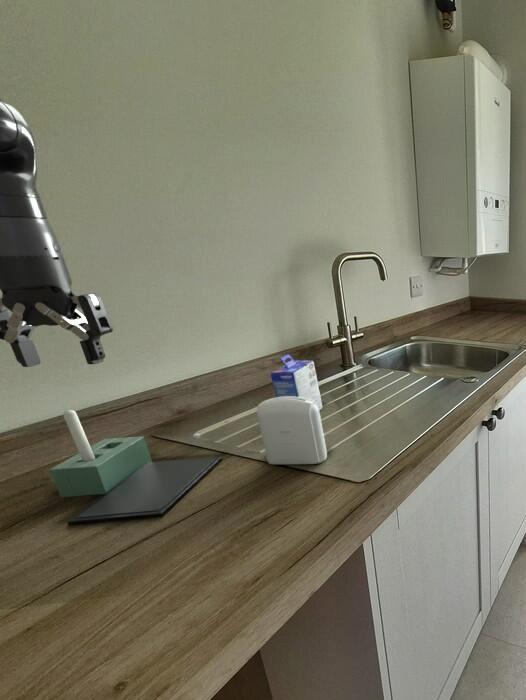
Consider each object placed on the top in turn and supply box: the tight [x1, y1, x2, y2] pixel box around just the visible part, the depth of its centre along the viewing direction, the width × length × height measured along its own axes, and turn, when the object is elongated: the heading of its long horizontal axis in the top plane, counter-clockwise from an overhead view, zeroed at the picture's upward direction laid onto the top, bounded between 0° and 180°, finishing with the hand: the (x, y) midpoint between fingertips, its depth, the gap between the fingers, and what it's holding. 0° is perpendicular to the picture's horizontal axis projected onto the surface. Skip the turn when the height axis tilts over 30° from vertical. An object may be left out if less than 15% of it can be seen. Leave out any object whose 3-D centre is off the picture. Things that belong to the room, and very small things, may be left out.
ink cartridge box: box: [270, 353, 323, 411], centre depth 92 cm, size 10×6×14 cm, turn 2°
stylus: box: [62, 409, 95, 462], centre depth 65 cm, size 1×1×13 cm
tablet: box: [66, 456, 223, 526], centre depth 66 cm, size 12×17×1 cm
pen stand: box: [49, 435, 153, 498], centre depth 69 cm, size 6×11×5 cm, turn 9°
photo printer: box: [256, 396, 328, 465], centre depth 73 cm, size 10×4×12 cm, turn 90°
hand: (64, 364), depth 62 cm, fingers open, 8 cm apart
